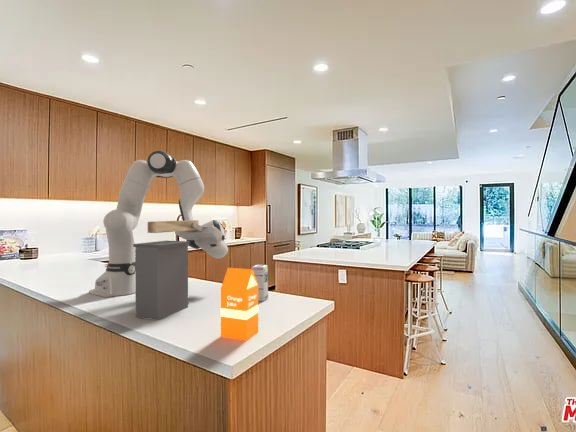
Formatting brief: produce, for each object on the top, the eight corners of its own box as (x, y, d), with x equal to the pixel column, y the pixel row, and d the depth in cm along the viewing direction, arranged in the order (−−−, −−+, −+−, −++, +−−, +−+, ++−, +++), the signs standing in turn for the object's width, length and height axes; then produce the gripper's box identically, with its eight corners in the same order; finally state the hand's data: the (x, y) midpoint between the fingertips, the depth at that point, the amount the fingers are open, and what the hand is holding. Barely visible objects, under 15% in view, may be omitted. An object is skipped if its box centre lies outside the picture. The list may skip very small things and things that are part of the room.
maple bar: (147, 232, 114) (147, 221, 114) (190, 229, 136) (190, 220, 136) (156, 232, 112) (156, 221, 112) (198, 229, 135) (198, 220, 135)
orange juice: (246, 341, 91) (246, 271, 91) (220, 336, 94) (220, 269, 94) (258, 331, 98) (258, 267, 98) (234, 327, 101) (233, 265, 101)
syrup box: (264, 301, 132) (264, 266, 132) (251, 300, 134) (251, 266, 134) (268, 297, 138) (268, 264, 138) (255, 297, 139) (255, 264, 139)
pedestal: (133, 316, 113) (133, 244, 113) (165, 304, 128) (165, 240, 128) (159, 320, 109) (159, 245, 109) (190, 307, 124) (189, 241, 123)
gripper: (188, 232, 148) (170, 217, 136) (226, 232, 140) (209, 217, 129) (183, 244, 145) (164, 230, 133) (222, 245, 137) (205, 231, 126)
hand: (187, 224), depth 131 cm, fingers closed on maple bar, 4 cm apart
